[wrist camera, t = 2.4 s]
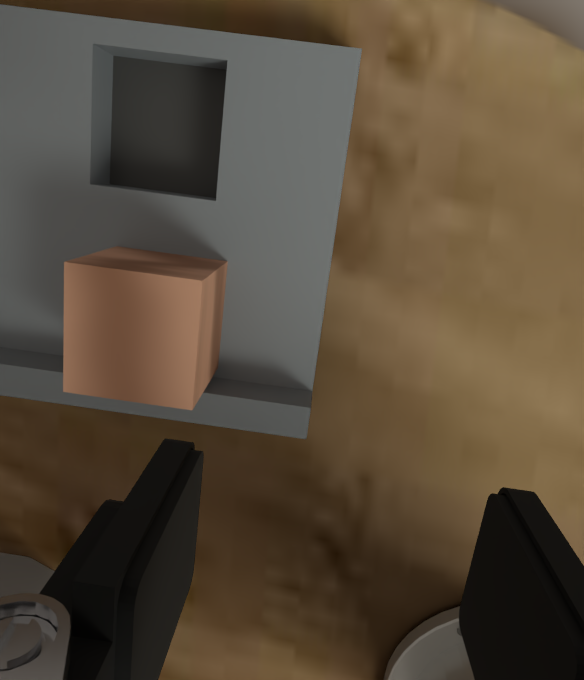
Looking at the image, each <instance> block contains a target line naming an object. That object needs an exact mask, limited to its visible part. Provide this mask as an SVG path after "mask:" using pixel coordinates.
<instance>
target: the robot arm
mask: <svg viewBox="0 0 584 680" xmlns="http://www.w3.org/2000/svg"><path fill="white" fill-rule="evenodd" d="M202 469H203V451H196V450H195V447H194V443H193V442H186V441H179V440H172V439H164V440H163V442H162V443H161V445H160V447H159V448H158V450H157V451H156V453H155V454H154V456H153V457H152V459H151V460H150V462H149V464H148V465H147V467H146V468H145V470H144V471H143V473H142V474H141V476H140V478H139V479H138V481H137V482H136V484H135V485H134V487H133V488H132V490H131V491H130V493H129V495H128V496H127V498H126V499H125V501H124V502H122V501H116V500H106V501H105V502H104V503H103V504H102V505H101V507H100V508H99V509H98V511H97V512H96V514H95V515H94V517H93V518H92V519H91V521H90V522H89V524H88V525H87V526H86V528H85V529H84V531H83V532H82V534H81V535H80V536H79V538H78V539H77V541H76V542H75V543H74V545H73V546H72V548H71V549H70V550H69V552H68V553H67V555H66V556H65V558H64V559H63V560H62V562H61V563H60V565H59V566H58V567H57V569H56V570H55V572H54V573H53V574H52V576H51V577H50V579H49V580H48V582H47V583H46V584H45V586H44V587H43V589H42V590H41V591H40V593H19V594H13V595H8V596H3V597H0V680H158V678H159V675H160V672H161V669H162V666H163V664H164V661H165V658H166V655H167V652H168V649H169V646H170V643H171V640H172V638H173V635H174V632H175V629H176V626H177V623H178V620H179V617H180V614H181V612H182V609H183V606H184V603H185V600H186V597H187V594H188V591H189V588H190V585H191V581H192V576H193V570H194V561H195V549H196V538H197V527H198V515H199V504H200V492H201V481H202ZM384 680H584V566H583V564H582V563H581V561H580V560H579V558H578V557H577V555H576V554H575V552H574V551H573V549H572V548H571V546H570V545H569V543H568V541H567V540H566V538H565V537H564V535H563V534H562V532H561V531H560V529H559V528H558V526H557V525H556V523H555V522H554V520H553V519H552V517H551V516H550V514H549V513H548V511H547V510H546V508H545V507H544V505H543V504H542V502H541V501H540V499H539V498H538V496H537V495H536V494H535V493H534V492H531V491H524V490H517V489H510V488H504V487H503V488H501V489H500V491H499V492H498V494H490V496H489V497H488V500H487V504H486V507H485V511H484V515H483V519H482V523H481V527H480V531H479V535H478V538H477V542H476V546H475V550H474V554H473V558H472V562H471V566H470V570H469V573H468V577H467V581H466V585H465V589H464V593H463V597H462V601H461V604H460V606H459V607H456V608H453V609H450V610H447V611H444V612H441V613H439V614H437V615H435V616H433V617H432V618H430V619H428V620H426V621H424V622H423V623H421V624H420V625H419V626H417V627H416V628H415V629H414V630H412V631H411V632H410V633H408V635H407V636H406V637H405V638H404V639H403V640H402V641H401V643H400V644H399V645H398V646H397V647H396V649H395V651H394V653H393V654H392V656H391V658H390V660H389V662H388V665H387V668H386V672H385V675H384Z"/></svg>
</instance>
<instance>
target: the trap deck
mask: <svg viewBox="0 0 584 680" xmlns="http://www.w3.org/2000/svg"><path fill="white" fill-rule="evenodd" d="M361 52H362V49H360V48H352V47H344V46H336V45H327V44H319V43H311V42H303V41H295V40H287V39H279V38H270V37H262V36H254V35H246V34H238V33H230V32H222V31H213V30H205V29H197V28H189V27H181V26H173V25H164V24H156V23H148V22H140V21H132V20H124V19H116V18H107V17H99V16H91V15H83V14H75V13H67V12H59V11H50V10H42V9H34V8H26V7H18V6H10V5H1V4H0V395H2V396H9V397H16V398H23V399H30V400H37V401H44V402H51V403H58V404H65V405H72V406H79V407H86V408H93V409H100V410H107V411H113V412H120V413H127V414H134V415H141V416H148V417H155V418H162V419H169V420H176V421H183V422H190V423H197V424H204V425H211V426H218V427H225V428H232V429H238V430H245V431H252V432H259V433H266V434H273V435H280V436H287V437H294V438H301V439H306V438H307V431H308V424H309V417H310V411H311V401H312V390H313V383H314V376H315V369H316V362H317V355H318V348H319V342H320V335H321V328H322V321H323V314H324V307H325V300H326V293H327V286H328V279H329V273H330V266H331V259H332V252H333V245H334V238H335V231H336V224H337V217H338V211H339V204H340V197H341V190H342V183H343V176H344V169H345V162H346V155H347V149H348V142H349V135H350V128H351V121H352V114H353V107H354V100H355V93H356V86H357V80H358V73H359V66H360V59H361ZM116 246H119V247H126V248H133V249H141V250H148V251H156V252H163V253H170V254H178V255H185V256H193V257H200V258H207V259H215V260H222V261H228V265H227V276H226V287H225V298H224V309H223V319H222V330H221V341H220V352H219V363H218V369H217V370H216V372H215V374H214V375H213V377H212V379H211V380H210V382H209V384H208V385H207V387H206V388H205V390H204V392H203V393H202V395H201V397H200V398H199V400H198V402H197V403H196V405H195V407H194V408H193V410H186V409H179V408H172V407H165V406H158V405H151V404H144V403H137V402H130V401H123V400H116V399H109V398H102V397H95V396H88V395H81V394H75V393H68V392H63V345H64V262H65V261H69V260H72V259H75V258H79V257H82V256H86V255H89V254H92V253H96V252H99V251H102V250H106V249H109V248H112V247H116Z"/></svg>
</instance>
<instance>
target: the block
mask: <svg viewBox="0 0 584 680" xmlns="http://www.w3.org/2000/svg"><path fill="white" fill-rule="evenodd" d="M227 265H228V261H222V260H215V259H207V258H200V257H193V256H185V255H178V254H170V253H163V252H156V251H148V250H141V249H133V248H126V247H119V246H116V247H112V248H109V249H106V250H102V251H99V252H96V253H92V254H89V255H86V256H82V257H79V258H75V259H72V260H69V261H65V262H64V345H63V392H68V393H75V394H81V395H88V396H95V397H102V398H109V399H116V400H123V401H130V402H137V403H144V404H151V405H158V406H165V407H172V408H179V409H186V410H193V408H194V407H195V405H196V403H197V402H198V400H199V398H200V397H201V395H202V393H203V392H204V390H205V388H206V387H207V385H208V384H209V382H210V380H211V379H212V377H213V375H214V374H215V372H216V370H217V369H218V363H219V352H220V341H221V330H222V319H223V309H224V298H225V287H226V276H227Z"/></svg>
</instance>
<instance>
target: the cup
mask: <svg viewBox="0 0 584 680" xmlns="http://www.w3.org/2000/svg"><path fill="white" fill-rule="evenodd" d="M54 572H55V571H53V570H51V569H50V568H48V567H46V566H44V565H43V564H41V563H39V562H37V561H35V560H34V559H32V558H30V557H25V556H19V555H13V554H6V553H0V597H3V596H8V595H13V594H19V593H40V591H41V590H42V589H43V587H44V586H45V584H46V583H47V582H48V580H49V579H50V577H51V576H52V574H53V573H54Z"/></svg>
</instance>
